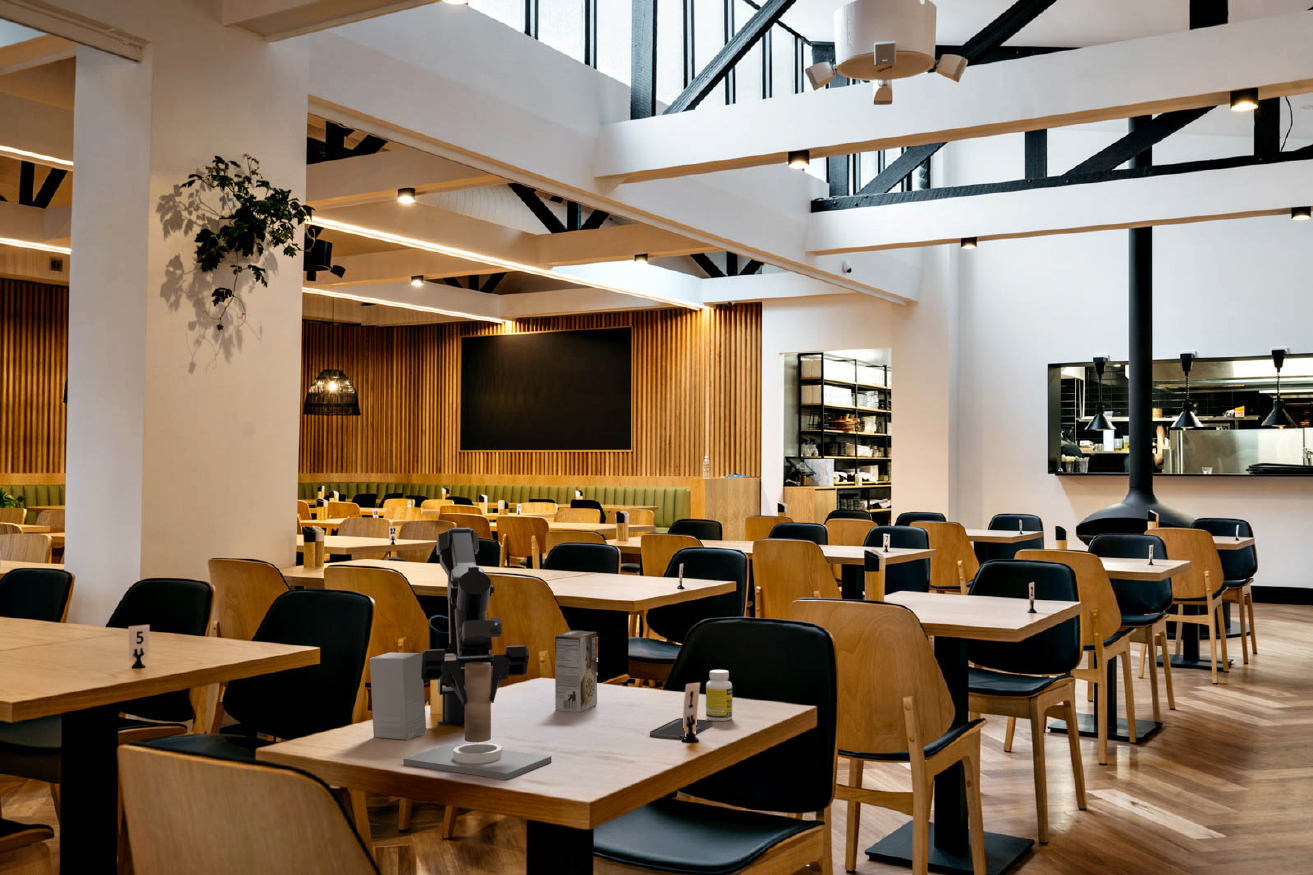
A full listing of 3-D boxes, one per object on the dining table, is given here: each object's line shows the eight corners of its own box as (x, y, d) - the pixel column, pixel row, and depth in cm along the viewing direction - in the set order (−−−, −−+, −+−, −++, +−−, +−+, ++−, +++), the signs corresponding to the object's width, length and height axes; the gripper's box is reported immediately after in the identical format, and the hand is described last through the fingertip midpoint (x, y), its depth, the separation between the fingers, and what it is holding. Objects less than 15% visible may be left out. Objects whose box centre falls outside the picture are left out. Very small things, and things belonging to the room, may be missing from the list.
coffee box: (571, 702, 241) (571, 630, 242) (597, 704, 239) (597, 631, 240) (553, 710, 233) (553, 635, 234) (581, 712, 231) (581, 636, 232)
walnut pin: (459, 739, 188) (459, 663, 189) (482, 735, 191) (482, 661, 192) (473, 743, 185) (473, 666, 185) (495, 739, 188) (495, 663, 188)
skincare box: (427, 734, 211) (427, 652, 212) (403, 742, 204) (404, 657, 205) (392, 730, 214) (392, 650, 215) (368, 738, 208) (368, 655, 209)
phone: (647, 732, 208) (679, 717, 221) (647, 738, 207) (679, 723, 221) (685, 736, 204) (714, 720, 218) (685, 742, 204) (714, 726, 218)
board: (403, 764, 187) (403, 749, 187) (451, 748, 199) (451, 734, 199) (507, 779, 177) (507, 764, 177) (551, 761, 188) (551, 747, 188)
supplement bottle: (730, 722, 220) (730, 673, 220) (704, 721, 221) (703, 672, 221) (734, 716, 225) (733, 669, 226) (708, 716, 226) (707, 668, 227)
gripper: (422, 604, 190) (425, 677, 179) (527, 600, 195) (537, 671, 184) (419, 643, 198) (422, 716, 186) (520, 638, 203) (530, 709, 192)
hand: (478, 702), depth 187 cm, fingers closed on walnut pin, 4 cm apart
